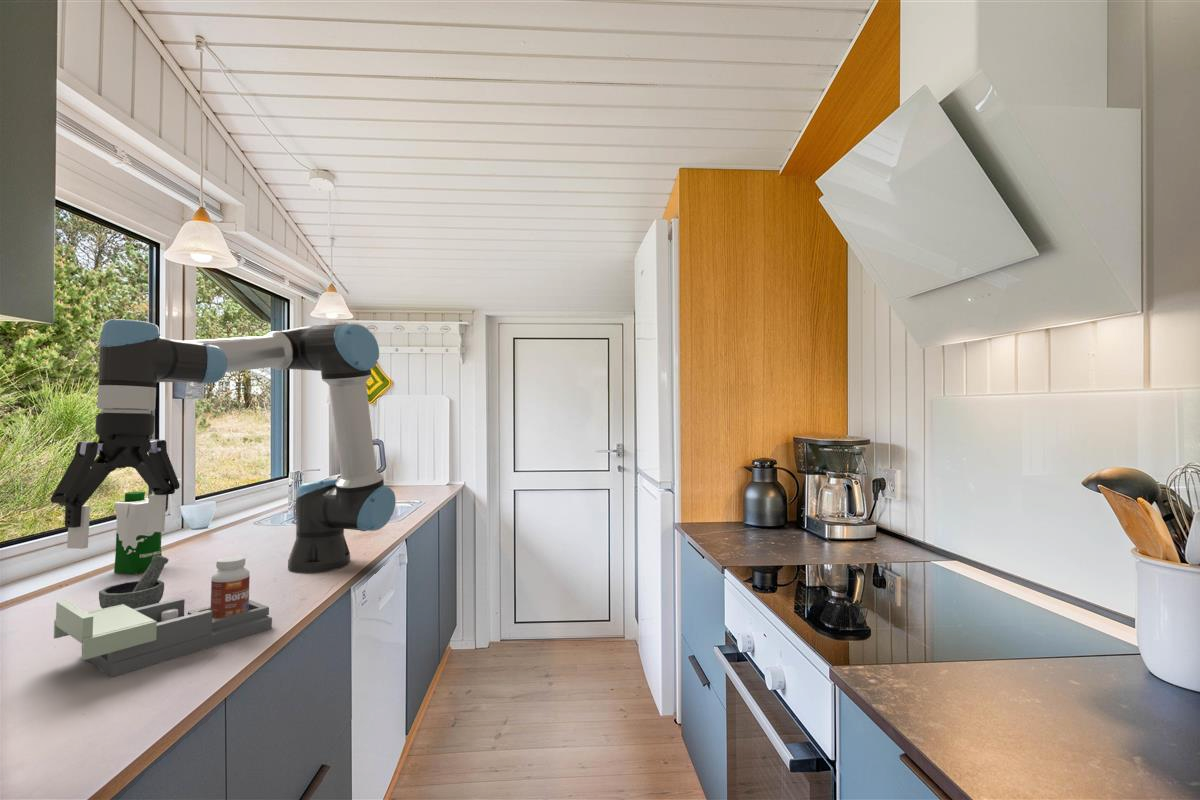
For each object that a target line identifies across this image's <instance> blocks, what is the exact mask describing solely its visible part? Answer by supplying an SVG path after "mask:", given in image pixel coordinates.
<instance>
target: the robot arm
mask: <svg viewBox="0 0 1200 800" xmlns="http://www.w3.org/2000/svg"><path fill="white" fill-rule="evenodd" d="M98 347H99V361H98V362H99V363H98V364H99V365H98V385H97V398H96V399H97V401H96V409H97V410H101V412H97V414H96V415H95V428H94V429H95V430H94V431H95V434H96V435H97V436H98V440H97V442H96V441H78V442H77V443H76V445H75V446H76V447H75V451H74V456H73V458H72V460H71V461H70V464H69V465H68V467H67V468H66V470H65V473H64V474H63V476H62V478H61V479H60V481H59V483H58V485H57V487H56V489H54V492H53V493H52V496H51V498H50V503H51V504H58V505H59V506H61V507H64V508H65V510H64V527H65V528H67V542H66V548H67V549H74V550H75V549H77V550H78V549H79V550H81V549H82V550H84V549H87V548H89V535H90V516H91V505H87V504H86V503H87V501H88V500H89V499H90V497H92V496H93V494H94V493H95V491H96V490H98V488H99V487H100V485H101V484H102V483H103V482H104V481H105V479H106V478H107V477H108V476H109V475H110V473H111V472H114V471H115V470H116V469H125V468H133V469H135V471H136V472H137V473H138V474H139V476H140V477H141V478H142V480H143V481H144V482H145V483H146V484H147V486H148V488H150V490H151V491H152V493H153V494H149V495H148V499H149V501H148V520H147V532H162V533H163V532H165V526H166V525H165V523H166V512H167V511H168V508H169V507H168V506H169V495H173V494H175V492H176V490H179V488H180V482H179V480H178V477H177V475H176V474H177V473H176V472H175V469H174V466H173V464H172V461H171V459H170V457H169V454H168V452H167V451H168V450H167V441H166V440H165V439H150V436H152V435H154V434H155V432H154V431H155V415H154V414H153V413H152V411H155V410H156V398H157V383H195V384H196V383H197V384H215V383H217V382H220V381H221V380H222V379H223V378H224V377H225V374H226V373H233V372H241V371H248V370H250V371H251V370H259V369H266V368H271V369H273V370H276V371H282V370H283V371H284V370H299V371H300V370H301V371H316V372H317V371H320V374H321V380H322V381H323V382H325V383H326V384H327V385H328V387H329V392H330V397H331V407H332V408H331V409H332V414H333V415H332V416H333V422H334V423H333V424H334V433H335V440H336V447H337V454H338V464H339V471H340V477H339V478H333V479H323V480H316V481H308V482H303V483H301V484H299V486H298V487H297V495H296V499H295V500H296V503H295V505H296V507H295V508H296V511H295V512H296V516H295V517H296V518H295V519H296V523H295V524H296V526H295V527H296V528H295V529H296V531H295V532H296V533H295V541H294V544H293V546H292V548H291V551H290V553H289V558H288V560H287V569H288V570H289V571H290V572H294V573H320V572H327V571H332V570H338V569H341V568H344V567H346V566H348V565H349V564H350V563H351V552H350V550H349V546H348V543H347V542H346V541H347V539H346V538H345V530H353V531H360V532H367V531H370V532H372V531H373V532H374V531H379V530H381V529H382V528H384V527H385V526H386V525H387V524H388V523H389V521H390V520H391V518H392V516H393V515H394V512H395V507H396V502H397V501H396V495H395V492H394V490H392V488H391V487H389V486H387V485H385V482H384V475H382V474H381V473H380V472H378V471H377V466H376V458H375V456H376V455H375V449H374V439H373V432H372V431H373V430H372V421H371V417H370V416H371V414H370V407H369V398H368V387H367V382H368V381H369V379H370V378H371V377H372V369H373V368H374V367H376V365H377V364H378V360H379V358H380V349H379V348H380V347H379V344H378V341H377V339H376V337H375V335H374V334H373V333H372V332H371V331H370V330H369V329H368V328H367V327H365V326H363V325H361V324H355V323H345V322H344V323H339V324H337V323H335V324H321V325H308V326H302V327H297V328H293V329H286V330H285V329H284V330H276V331H274V330H273V331H270V332H268V333H267V334H265V335H261V336H244V337H243V336H241V337H228V338H214V339H213V338H211V339H193V340H179V339H171V338H166V337H163V336H161V334H160V328H159V326H158V325H157V324H155V323H152V322H149V321H143V320H137V319H136V320H135V319H124V318H123V319H122V318H119V319H118V318H117V319H108V320H106V321H105V322H104V323H103V325H102V328H101V332H100V339H99V344H98ZM97 455H98V456H97ZM85 504H86V505H85Z"/></svg>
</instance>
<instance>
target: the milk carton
mask: <svg viewBox="0 0 1200 800" xmlns="http://www.w3.org/2000/svg"><path fill="white" fill-rule="evenodd" d="M148 501H149V498H145V492H144V491H132V492H131V491H130V492H125V493H124V500H120V501H116V502H113V503H114V509H115V518H116V532H115V559H114V567H113V568H114V571H113V573H117V574H127V575H138V574H144V573H145V571H146V570H147V568H148V567H149V565H150V564H151V562H152V557H153V556H162V533H163V532H147V520H148Z"/></svg>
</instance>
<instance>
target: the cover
mask: <svg viewBox="0 0 1200 800" xmlns="http://www.w3.org/2000/svg"><path fill="white" fill-rule="evenodd" d="M55 607H56V608H55V618H54V620H53V639H60V638H62V637H67V636H70V637H72V638H73V639H74V640H76V641H77V642H79V643H80V644H81V645H82V644H83V652H82V651H81V657H82V658H81V659H82V660H83V661H85V660H87V659H89V658H93V657H96V656H100V655H104V654H107V653H111V652H115V651H118V650H122V649H125V648H129V647H133V646H136V645H140V644H144V643H147V642H151V641H154V640H156V633H157V621H155V620H153V619H151V618H149V617H147V616H145V615H143V614H141V613H139V612H138V611H136V610H134V609H132V608H130V607H128V606H126V605H124V604H122V605H117V606H113V607H108V608H104V609H102V608H99V609H96V610H91V611H85V610H84V609H82V608H80V607H78V606H77V605H75V604H74V603H73V602H70V601H68V599H66V600H61V601H56V606H55Z"/></svg>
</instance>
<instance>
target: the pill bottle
mask: <svg viewBox="0 0 1200 800" xmlns="http://www.w3.org/2000/svg"><path fill="white" fill-rule="evenodd" d="M245 565H246V557H245V556H243V555H234V556H226V557H222V558H219V559H218V558H217V560H216V565H215V567H216V569H217V571H214V572H213V574H212V575H211V580H210V582H211V584H210V585H211V586H210V587H211V588H210V589H211V591H210V606H211V611H213V616H212V618H214V619H220V618H223V617H227V616H231V615H234V614H238V613H242V612H245V611H249V600H250V577H251V576H250V570H249V569H248V568H246V567H245Z"/></svg>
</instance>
